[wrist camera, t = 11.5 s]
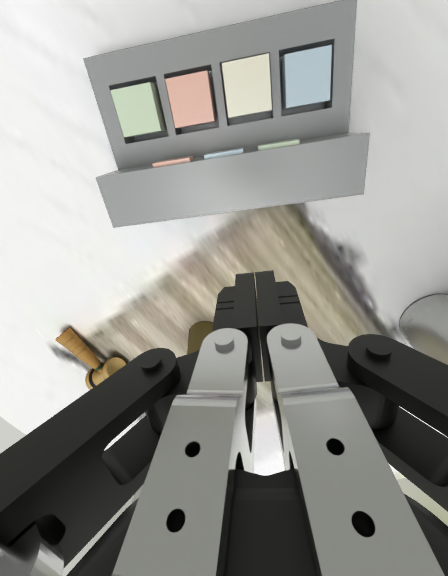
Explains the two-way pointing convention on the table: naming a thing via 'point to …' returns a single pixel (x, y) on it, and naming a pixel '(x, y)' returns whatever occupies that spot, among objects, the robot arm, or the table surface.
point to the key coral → (191, 99)
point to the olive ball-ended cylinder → (198, 335)
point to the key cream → (247, 86)
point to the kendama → (90, 359)
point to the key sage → (139, 109)
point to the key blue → (306, 77)
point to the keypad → (233, 124)
